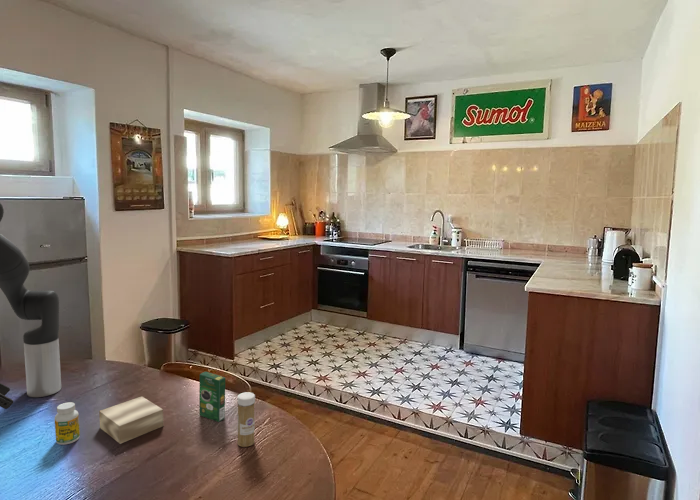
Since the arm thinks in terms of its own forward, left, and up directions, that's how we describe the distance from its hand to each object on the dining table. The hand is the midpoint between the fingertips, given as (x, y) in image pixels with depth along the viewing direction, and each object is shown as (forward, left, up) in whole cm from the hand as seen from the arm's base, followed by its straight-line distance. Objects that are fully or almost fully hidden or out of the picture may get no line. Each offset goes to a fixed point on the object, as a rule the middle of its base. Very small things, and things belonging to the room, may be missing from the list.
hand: (8, 398), depth 109 cm
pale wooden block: (+8, +26, -15) cm, 31 cm away
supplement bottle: (+2, +12, -15) cm, 19 cm away
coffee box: (+20, +44, -15) cm, 50 cm away
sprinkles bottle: (+38, +42, -15) cm, 58 cm away
